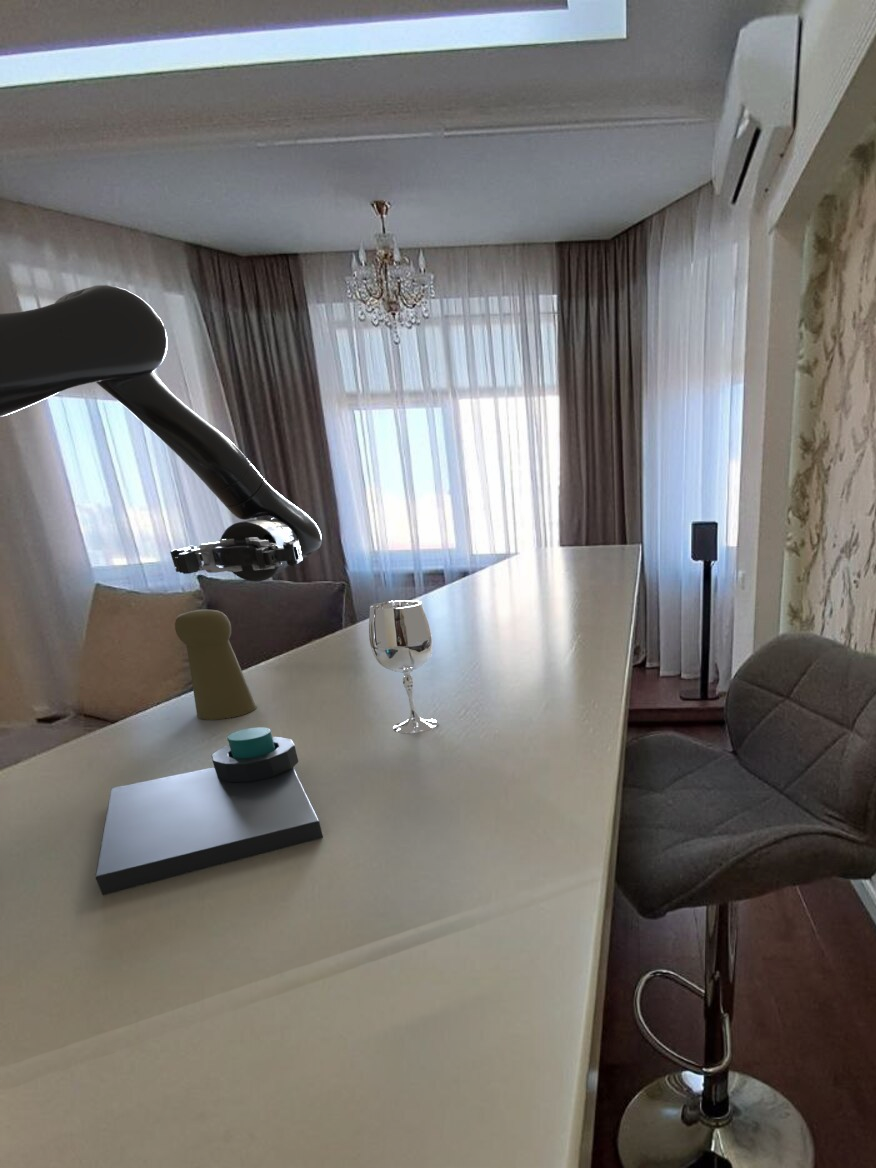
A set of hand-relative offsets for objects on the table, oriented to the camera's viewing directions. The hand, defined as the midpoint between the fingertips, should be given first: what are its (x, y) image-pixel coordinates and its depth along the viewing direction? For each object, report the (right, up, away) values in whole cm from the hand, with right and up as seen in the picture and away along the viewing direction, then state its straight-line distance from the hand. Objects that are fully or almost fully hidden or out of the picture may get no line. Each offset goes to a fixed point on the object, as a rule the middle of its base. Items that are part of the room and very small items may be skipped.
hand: (222, 561), depth 80 cm
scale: (+15, -30, -29) cm, 44 cm away
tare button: (+16, -24, -24) cm, 38 cm away
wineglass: (+26, -21, -11) cm, 35 cm away
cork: (+3, -18, -4) cm, 19 cm away
